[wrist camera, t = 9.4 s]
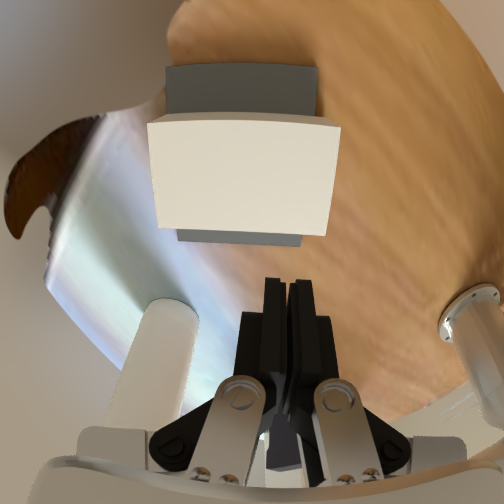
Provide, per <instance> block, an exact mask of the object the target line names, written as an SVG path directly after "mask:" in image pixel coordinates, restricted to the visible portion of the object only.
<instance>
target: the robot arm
mask: <svg viewBox="0 0 504 504" xmlns="http://www.w3.org/2000/svg"><path fill="white" fill-rule="evenodd" d="M499 303H500V293H499V291H498V289H497V288H496V287H495V286H494V285H493V284H489V283H484V284H480V285H477V286H474V287H472V288H470V289H468V290H467V291H465V292H464V293H462V294H461V295H460V296H459V297H457V298H456V299H455V300H454V301H453V302H452V303H451V304H450V305H449V306H448V308H447V309H446V310H445V312H444V313H443V315H442V317H441V319H440V321H439V325H438V332H439V335H440V337H441V339H442V340H443V341H445V342H449V343H454V345H455V348H456V350H457V352H458V354H459V357H460V359H461V361H462V364H463V366H464V369H465V371H466V374H467V376H468V379H469V381H470V384H471V386H472V389H473V392H474V395H475V397H476V400H477V403H478V406H479V409H480V412H481V415H482V417H483V419H484V420H485V421H486V423H488V424H489V425H491V426H493V427H496V428H499V429H502V430H504V312H502V310H501V308H500V307H499ZM281 396H282V409H281V412H282V414H287V421H290V428H291V429H292V430H294V431H295V432H296V433H297V440H298V445H299V451H300V457H301V463H302V469H303V475H304V481H305V487H306V488H260V487H246V486H247V483H248V479H249V475H250V472H251V468H252V464H253V460H254V457H255V452H256V449H257V445H258V441H259V437H260V435H261V434H262V433H264V432H265V431H266V430H267V429H269V428H270V427H271V426H272V421H273V417H274V414H277V412H278V408H279V404H280V400H281ZM27 504H504V437H503V438H502V439H500V440H499V441H498V442H496V443H495V444H493V445H492V446H490V447H488V448H486V449H485V450H483V451H481V452H479V453H478V454H476V455H474V456H472V457H471V458H469V459H467V449H466V445H465V443H464V442H463V440H462V439H460V438H458V437H429V436H413V437H412V438H407V437H405V436H404V435H402V434H401V433H399V432H398V431H397V430H395V429H394V428H392V427H391V426H390V425H388V424H387V423H385V422H384V421H382V420H381V419H380V418H378V417H377V416H376V415H374V414H373V413H371V412H370V411H369V410H367V409H366V408H365V407H363V405H362V402H361V398H360V395H359V393H358V391H357V389H356V388H355V387H354V386H353V385H352V384H351V383H350V382H348V381H346V380H343V379H339V372H338V365H337V358H336V351H335V344H334V338H333V331H332V325H331V320H330V317H329V316H316V312H315V304H314V296H313V288H312V282H311V280H301V279H296V282H295V283H290V287H289V294H288V301H287V306H286V283H284V282H280V278H267V277H266V278H265V291H264V305H263V313H256V312H242V316H241V323H240V330H239V337H238V344H237V351H236V359H235V366H234V373H233V376H231V377H229V378H227V379H225V380H224V381H223V382H222V383H221V384H220V385H219V387H218V389H217V391H216V394H215V396H214V398H212V399H211V400H209V401H207V402H206V403H204V404H202V405H201V406H199V407H197V408H196V409H194V410H192V411H191V412H189V413H187V414H186V415H184V416H182V417H180V418H179V419H177V420H175V421H173V422H172V423H170V424H168V425H166V426H164V427H163V428H161V429H159V430H158V431H146V430H145V429H126V428H110V427H98V426H92V427H88V428H85V429H84V430H83V431H82V432H81V433H80V434H79V437H78V442H77V452H76V455H74V456H61V457H55V458H52V459H50V460H48V461H47V462H46V463H45V464H44V465H43V466H42V468H41V469H40V470H39V472H38V474H37V476H36V478H35V480H34V483H33V485H32V488H31V491H30V494H29V497H28V500H27Z"/></svg>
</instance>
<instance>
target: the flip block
mask: <svg viewBox="0 0 504 504" xmlns="http://www.w3.org/2000/svg"><path fill="white" fill-rule="evenodd" d="M147 130H148V143H149V154H150V164H151V174H152V183H153V191H154V199H155V206H156V214H157V220H158V227H159V228H169V229H198V230H222V231H245V232H266V233H285V234H303V235H320V236H325V234H326V228H327V223H328V217H329V211H330V204H331V198H332V192H333V185H334V178H335V171H336V164H337V156H338V148H339V140H340V131H341V127H339V126H338V125H337V124H335V123H334V122H333V121H331V120H330V119H328V118H324V117H315V116H305V115H293V114H279V113H259V112H194V113H175V114H167V115H164V116H162V117H160V118H158V119H155V120H153V121H151V122H149V123H147Z"/></svg>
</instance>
